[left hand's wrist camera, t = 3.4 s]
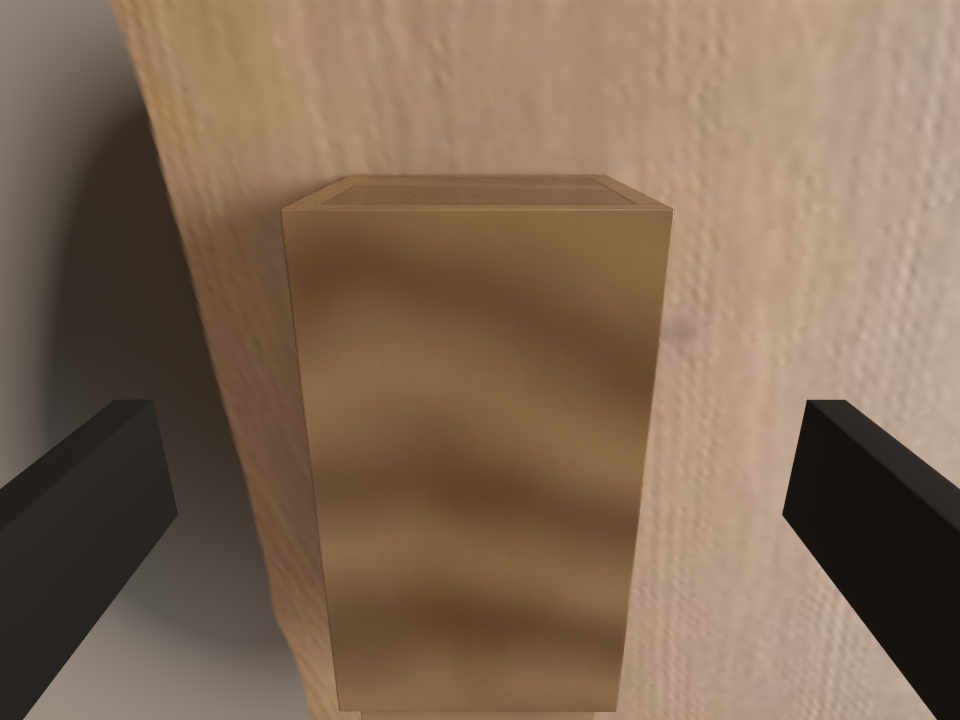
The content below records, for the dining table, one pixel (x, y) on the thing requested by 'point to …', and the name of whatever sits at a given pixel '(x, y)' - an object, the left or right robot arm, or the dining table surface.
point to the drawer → (474, 715)
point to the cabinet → (477, 430)
